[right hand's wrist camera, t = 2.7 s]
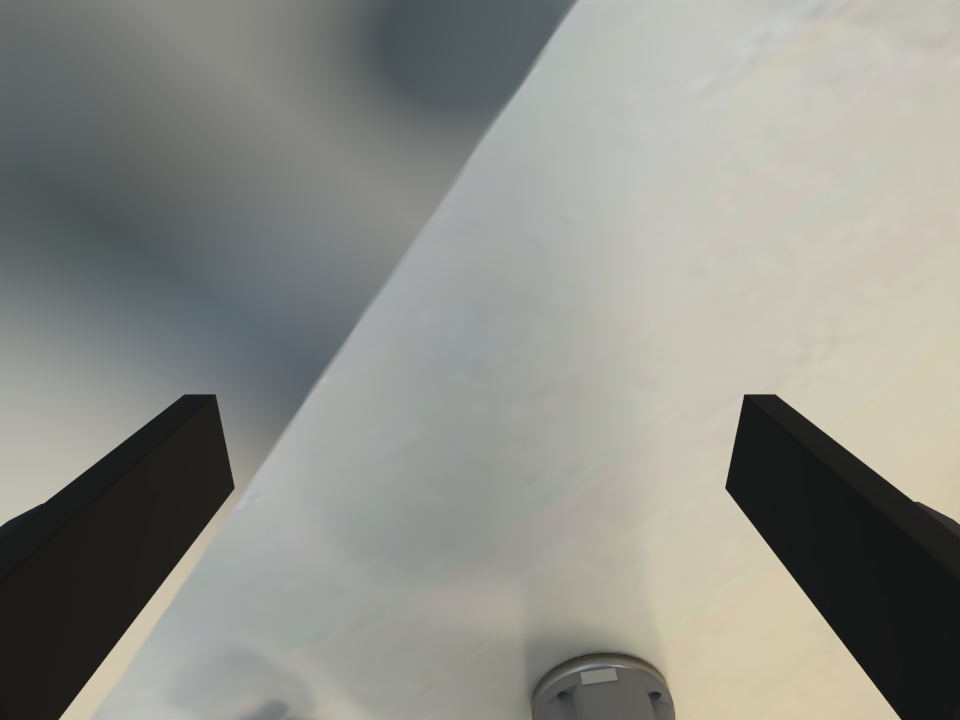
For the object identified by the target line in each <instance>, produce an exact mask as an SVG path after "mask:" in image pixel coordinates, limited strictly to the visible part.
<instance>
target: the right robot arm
mask: <svg viewBox="0 0 960 720" xmlns="http://www.w3.org/2000/svg"><path fill="white" fill-rule="evenodd" d="M234 489H235V487H234V482H233V477H232V472H231V468H230V463H229V458H228V453H227V448H226V443H225V438H224V433H223V428H222V424H221V419H220V414H219V409H218V404H217V399H216V395H215V394H212V395H210V394H209V395H208V394H203V395H201V394H199V395H197V394H194V395H192V394H189V395H188V394H187V395H183V396H182V397H181V398H180V399H178V400H177V401H176V402H174V403H173V404H172V405H171V406H169V407H168V408H167V409H165V410H164V411H163V412H162V413H160V414H159V415H158V416H156V417H155V418H154V419H153V420H151V421H150V422H149V423H147V424H146V425H145V426H143V427H142V428H141V429H140V430H138V431H137V432H136V433H134V434H133V435H132V436H130V437H129V438H128V439H127V440H125V441H124V442H123V443H122V444H120V445H119V446H118V447H116V448H115V449H114V450H112V451H111V452H110V453H109V454H107V455H106V456H105V457H103V458H102V459H101V460H100V461H98V462H97V463H96V464H94V465H93V466H92V467H90V468H89V469H88V470H87V471H85V472H84V473H83V474H81V475H80V476H79V477H78V478H76V479H75V480H74V481H72V482H71V483H70V484H69V485H67V486H66V487H65V488H63V489H62V490H61V491H60V492H58V493H57V494H56V495H54V496H53V497H52V498H50V499H49V500H48V501H47V502H45V503H44V504H40V505H39V506H37V507H35V508H33V509H31V510H29V511H27V512H25V513H23V514H21V515H19V516H17V517H15V518H13V519H11V520H9V521H8V522H6V523H5V524H4V525H2V526H1V527H0V720H59V719H60V717H61V716H62V715H63V713H64V712H65V711H66V709H67V708H68V707H69V705H70V704H71V703H72V701H73V700H74V699H75V697H76V696H77V695H78V694H79V692H80V691H81V690H82V688H83V687H84V686H85V684H86V683H87V682H88V680H89V679H90V678H91V676H92V675H93V674H94V672H95V671H96V670H97V668H98V667H99V666H100V665H101V663H102V662H103V661H104V659H105V658H106V657H107V655H108V654H109V653H110V652H111V650H112V649H113V648H114V646H115V645H116V644H117V642H118V641H119V640H120V638H121V637H122V636H123V634H124V633H125V632H126V630H127V629H128V628H129V627H130V625H131V624H132V623H133V621H134V620H135V619H136V617H137V616H138V615H139V613H140V612H141V611H142V609H143V608H144V607H145V605H146V604H147V603H148V602H149V600H150V599H151V598H152V596H153V595H154V594H155V592H156V591H157V590H158V588H159V587H160V586H161V585H162V583H163V582H164V581H165V579H166V578H167V577H168V575H169V574H170V573H171V571H172V570H173V569H174V567H175V566H176V565H177V563H178V562H179V561H180V560H181V558H182V557H183V556H184V554H185V553H186V552H187V550H188V549H189V548H190V546H191V545H192V544H193V542H194V541H195V540H196V539H197V537H198V536H199V535H200V533H201V532H202V531H203V529H204V528H205V527H206V525H207V524H208V523H209V521H210V520H211V519H212V517H213V516H214V515H215V514H216V512H217V511H218V510H219V508H220V507H221V506H222V504H223V503H224V502H225V500H226V499H227V498H228V496H229V495H230V494H231V493H232V491H233V490H234ZM725 489H726V490H727V491H728V493H729V494H730V495H731V496H732V498H733V499H734V500H735V502H736V503H737V504H738V506H739V507H740V508H741V510H742V511H743V512H744V514H745V515H746V516H747V517H748V519H749V520H750V521H751V523H752V524H753V525H754V527H755V528H756V529H757V531H758V532H759V533H760V535H761V536H762V537H763V539H764V540H765V541H766V542H767V544H768V545H769V546H770V548H771V549H772V550H773V552H774V553H775V554H776V556H777V557H778V558H779V560H780V561H781V562H782V563H783V565H784V566H785V567H786V569H787V570H788V571H789V573H790V574H791V575H792V577H793V578H794V579H795V581H796V582H797V583H798V585H799V586H800V587H801V588H802V590H803V591H804V592H805V594H806V595H807V596H808V598H809V599H810V600H811V602H812V603H813V604H814V606H815V607H816V608H817V609H818V611H819V612H820V613H821V615H822V616H823V617H824V619H825V620H826V621H827V623H828V624H829V625H830V627H831V628H832V629H833V631H834V632H835V633H836V634H837V636H838V637H839V638H840V640H841V641H842V642H843V644H844V645H845V646H846V648H847V649H848V650H849V652H850V653H851V654H852V655H853V657H854V658H855V659H856V661H857V662H858V663H859V665H860V666H861V667H862V669H863V670H864V671H865V673H866V674H867V675H868V677H869V678H870V679H871V680H872V682H873V683H874V684H875V686H876V687H877V688H878V690H879V691H880V692H881V694H882V695H883V696H884V698H885V699H886V700H887V701H888V703H889V704H890V705H891V707H892V708H893V709H894V711H895V712H896V713H897V715H898V716H899V717H900V719H901V720H960V524H958V523H957V522H956V521H954V520H953V519H951V518H949V517H947V516H945V515H943V514H941V513H939V512H937V511H935V510H933V509H932V508H930V507H928V506H926V505H924V504H922V503H920V502H913V501H912V500H911V499H910V498H908V497H907V496H906V495H904V494H903V493H902V492H901V491H899V490H898V489H897V488H895V487H894V486H893V485H892V484H890V483H889V482H888V481H886V480H885V479H884V478H882V477H881V476H880V475H879V474H877V473H876V472H875V471H873V470H872V469H871V468H870V467H868V466H867V465H866V464H864V463H863V462H862V461H861V460H859V459H858V458H857V457H855V456H854V455H853V454H851V453H850V452H849V451H848V450H846V449H845V448H844V447H842V446H841V445H840V444H839V443H837V442H836V441H835V440H833V439H832V438H831V437H830V436H828V435H827V434H826V433H824V432H823V431H822V430H820V429H819V428H818V427H817V426H815V425H814V424H813V423H811V422H810V421H809V420H808V419H806V418H805V417H804V416H802V415H801V414H800V413H799V412H797V411H796V410H795V409H793V408H792V407H791V406H789V405H788V404H787V403H786V402H784V401H783V400H782V399H780V398H779V397H778V396H777V395H775V394H744V399H743V404H742V409H741V414H740V419H739V423H738V428H737V433H736V438H735V443H734V448H733V453H732V458H731V463H730V467H729V472H728V477H727V482H726V487H725ZM531 706H532V718H533V720H675V711H674V705H673V701H672V697H671V695H670V692H669V689H668V686H667V684H666V682H665V680H664V679H663V677H662V676H661V675H660V674H659V672H658V671H656V670H655V669H654V668H653V667H651V666H650V665H648V664H647V663H645V662H643V661H641V660H638V659H635V658H632V657H629V656H624V655H617V654H595V655H588V656H583V657H579V658H576V659H573V660H570V661H568V662H566V663H564V664H562V665H560V666H558V667H556V668H555V669H553V670H552V671H551V672H549V673H548V674H547V675H546V676H545V677H544V678H543V679H542V680H541V681H540V683H539V684H538V686H537V687H536V689H535V691H534V694H533V697H532V704H531Z"/></svg>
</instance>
